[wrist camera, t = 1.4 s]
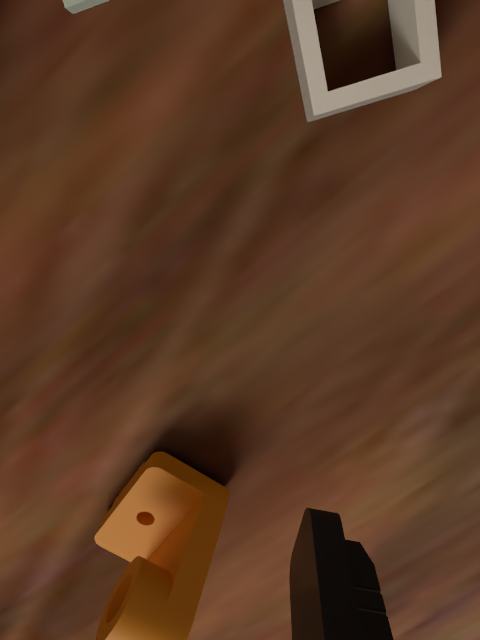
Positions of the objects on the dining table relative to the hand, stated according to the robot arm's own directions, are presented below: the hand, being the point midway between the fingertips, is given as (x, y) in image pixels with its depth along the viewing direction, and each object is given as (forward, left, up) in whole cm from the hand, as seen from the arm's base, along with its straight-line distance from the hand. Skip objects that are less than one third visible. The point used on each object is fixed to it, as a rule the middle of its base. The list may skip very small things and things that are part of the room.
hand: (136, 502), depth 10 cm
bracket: (+11, +19, -21) cm, 30 cm away
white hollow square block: (-11, -11, -21) cm, 26 cm away
